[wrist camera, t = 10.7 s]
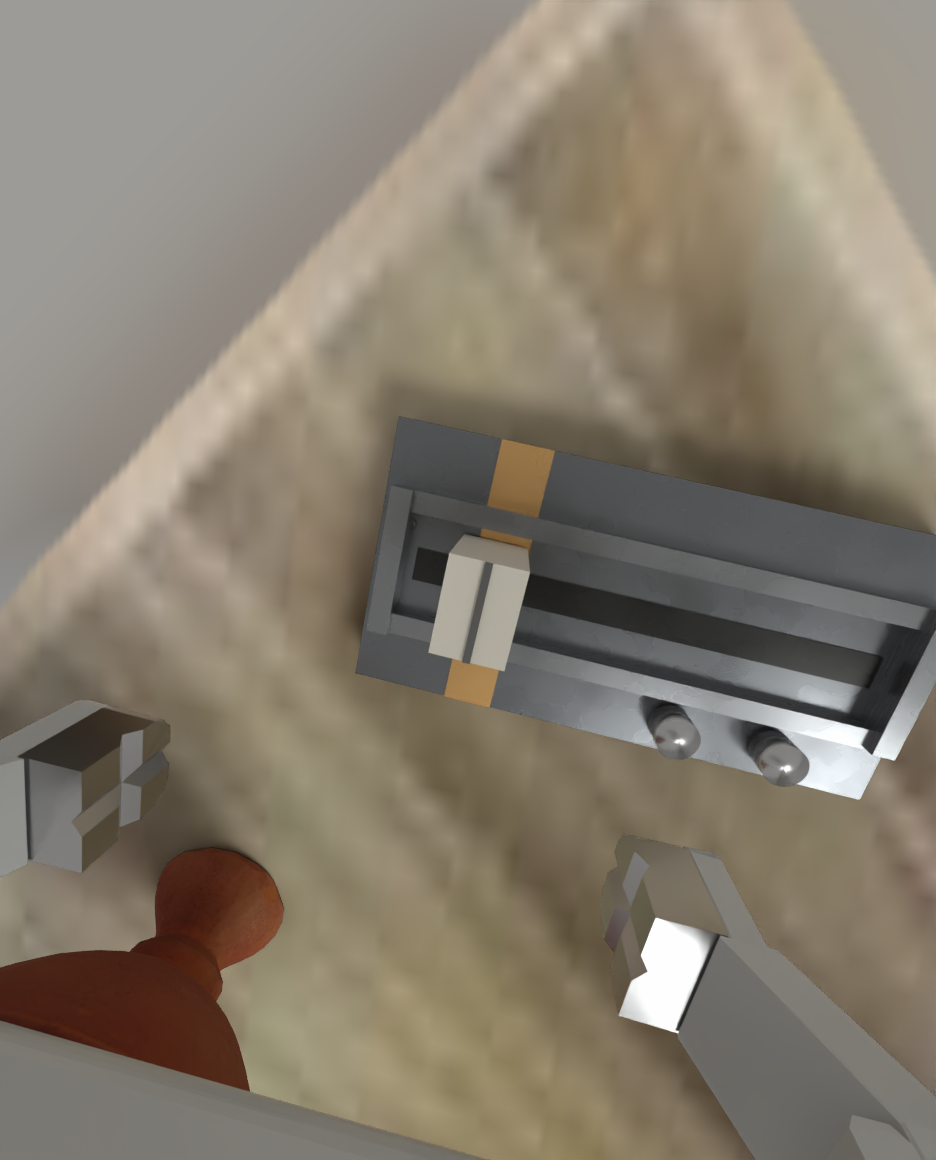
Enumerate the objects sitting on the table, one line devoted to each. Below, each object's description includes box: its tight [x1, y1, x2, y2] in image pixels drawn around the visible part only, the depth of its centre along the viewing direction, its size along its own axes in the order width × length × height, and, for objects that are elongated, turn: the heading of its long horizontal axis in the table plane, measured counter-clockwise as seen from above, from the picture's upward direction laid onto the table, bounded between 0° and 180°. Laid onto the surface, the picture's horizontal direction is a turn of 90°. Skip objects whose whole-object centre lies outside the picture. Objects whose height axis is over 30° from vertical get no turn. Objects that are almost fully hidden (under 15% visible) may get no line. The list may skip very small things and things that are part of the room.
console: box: [355, 416, 936, 800], centre depth 23 cm, size 26×13×4 cm, turn 78°
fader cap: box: [428, 534, 530, 671], centre depth 20 cm, size 3×4×5 cm
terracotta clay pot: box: [0, 848, 284, 1092], centre depth 20 cm, size 19×19×25 cm
